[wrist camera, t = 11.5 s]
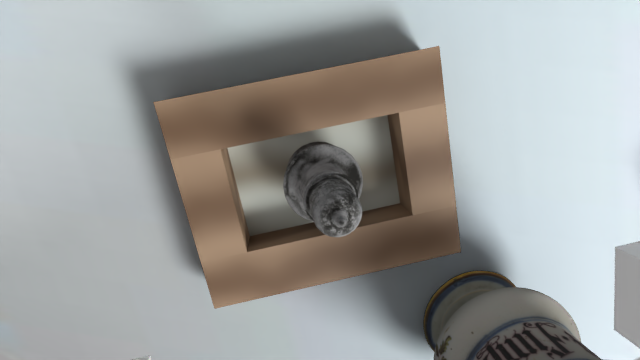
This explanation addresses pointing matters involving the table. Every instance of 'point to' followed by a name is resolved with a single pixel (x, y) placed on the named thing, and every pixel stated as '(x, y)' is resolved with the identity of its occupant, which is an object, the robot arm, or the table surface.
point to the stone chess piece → (325, 187)
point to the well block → (271, 163)
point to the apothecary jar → (499, 322)
